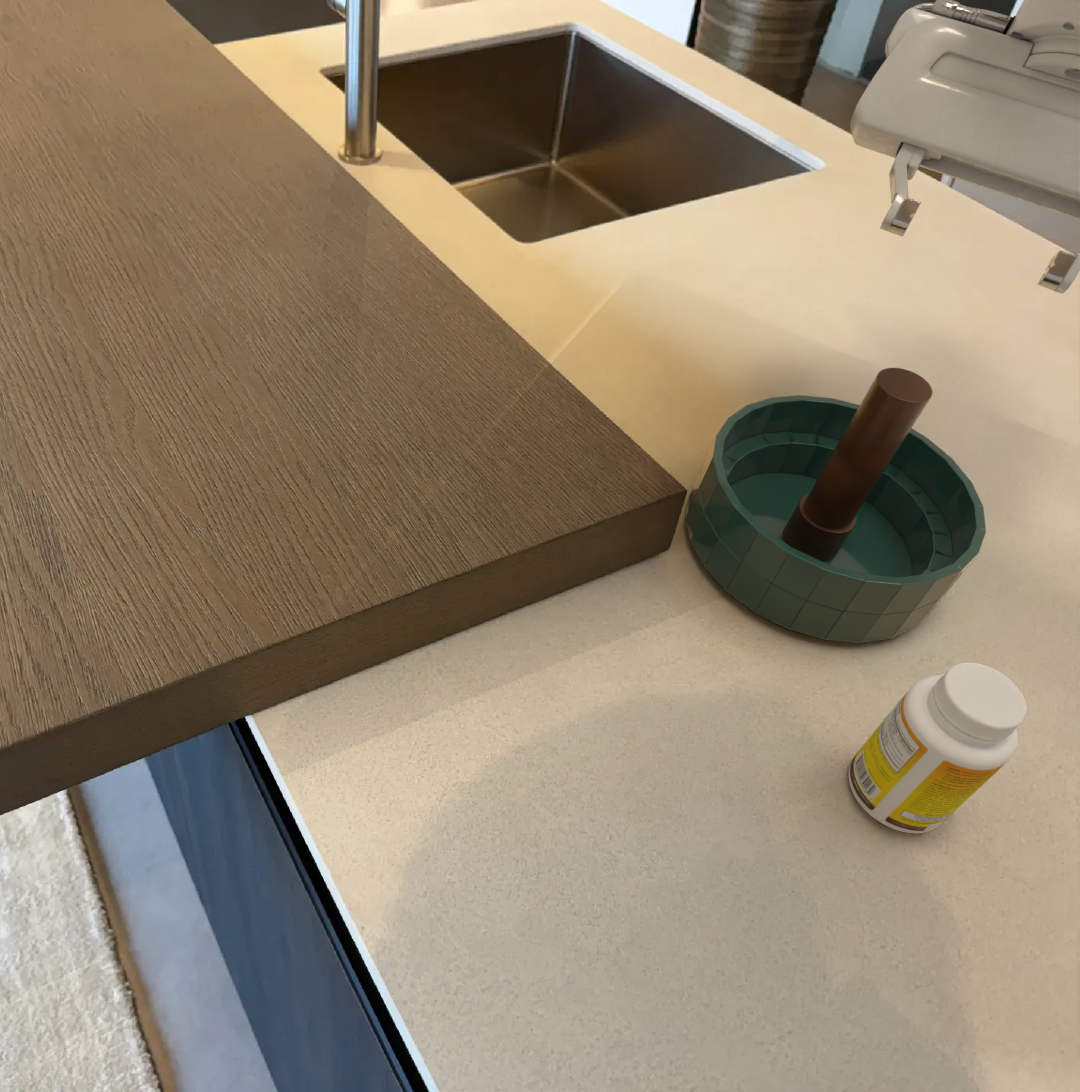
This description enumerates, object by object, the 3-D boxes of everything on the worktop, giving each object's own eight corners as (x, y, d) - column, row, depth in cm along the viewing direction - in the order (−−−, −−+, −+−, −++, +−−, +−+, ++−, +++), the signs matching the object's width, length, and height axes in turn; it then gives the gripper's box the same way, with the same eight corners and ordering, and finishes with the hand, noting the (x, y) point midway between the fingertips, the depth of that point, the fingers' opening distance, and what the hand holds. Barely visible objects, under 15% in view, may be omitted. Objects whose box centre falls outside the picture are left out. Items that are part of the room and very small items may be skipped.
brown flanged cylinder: (844, 537, 72) (944, 381, 61) (829, 570, 70) (929, 414, 59) (792, 513, 73) (881, 356, 63) (775, 545, 71) (864, 387, 61)
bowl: (959, 530, 74) (1008, 465, 69) (900, 692, 64) (952, 630, 59) (732, 430, 80) (763, 363, 75) (645, 565, 70) (674, 499, 65)
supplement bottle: (961, 801, 59) (1065, 704, 52) (910, 856, 57) (1011, 762, 49) (877, 733, 62) (964, 631, 54) (824, 783, 59) (907, 683, 52)
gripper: (922, -39, 61) (806, 179, 63) (1313, 67, 54) (1172, 307, 56) (905, 17, 67) (799, 215, 68) (1255, 118, 60) (1129, 334, 62)
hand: (970, 257), depth 62 cm, fingers open, 8 cm apart
